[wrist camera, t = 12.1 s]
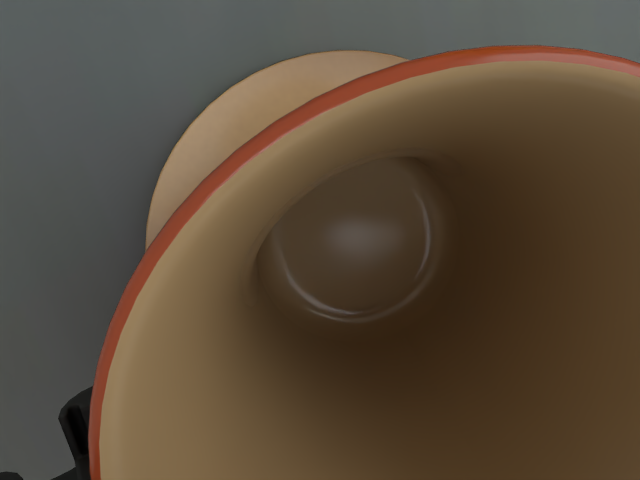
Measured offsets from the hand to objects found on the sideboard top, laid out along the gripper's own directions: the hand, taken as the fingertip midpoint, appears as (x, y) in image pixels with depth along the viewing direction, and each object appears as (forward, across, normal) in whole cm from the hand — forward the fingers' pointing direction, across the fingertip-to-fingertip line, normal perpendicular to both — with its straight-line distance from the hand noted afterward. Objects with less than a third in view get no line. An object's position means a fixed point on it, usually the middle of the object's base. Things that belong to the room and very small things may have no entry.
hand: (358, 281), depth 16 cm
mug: (+1, 0, 0) cm, 1 cm away
